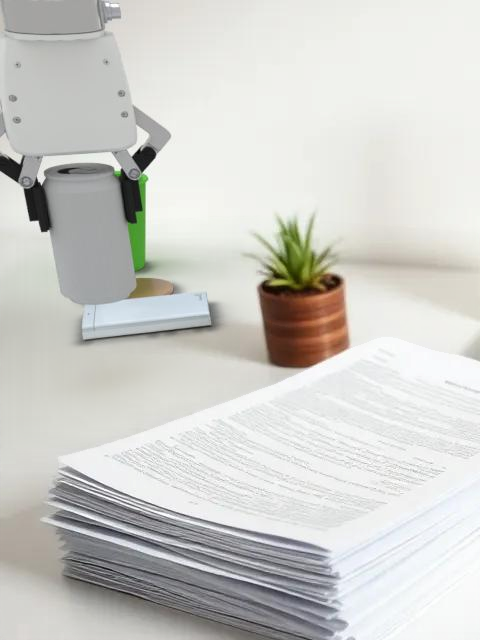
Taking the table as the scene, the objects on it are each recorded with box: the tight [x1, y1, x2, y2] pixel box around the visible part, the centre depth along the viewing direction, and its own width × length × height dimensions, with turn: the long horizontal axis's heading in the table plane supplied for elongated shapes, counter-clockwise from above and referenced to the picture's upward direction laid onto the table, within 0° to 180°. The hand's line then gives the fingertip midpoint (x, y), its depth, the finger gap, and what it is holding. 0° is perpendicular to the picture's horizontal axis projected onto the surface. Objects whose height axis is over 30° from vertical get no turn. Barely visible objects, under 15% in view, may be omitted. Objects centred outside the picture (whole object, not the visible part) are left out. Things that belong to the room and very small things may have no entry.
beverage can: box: [41, 162, 137, 306], centre depth 102 cm, size 6×6×12 cm
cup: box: [114, 170, 149, 272], centre depth 137 cm, size 9×9×11 cm
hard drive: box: [81, 290, 212, 341], centre depth 122 cm, size 2×8×12 cm
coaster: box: [124, 277, 174, 300], centre depth 130 cm, size 9×9×1 cm
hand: (88, 222), depth 102 cm, fingers closed on beverage can, 6 cm apart
